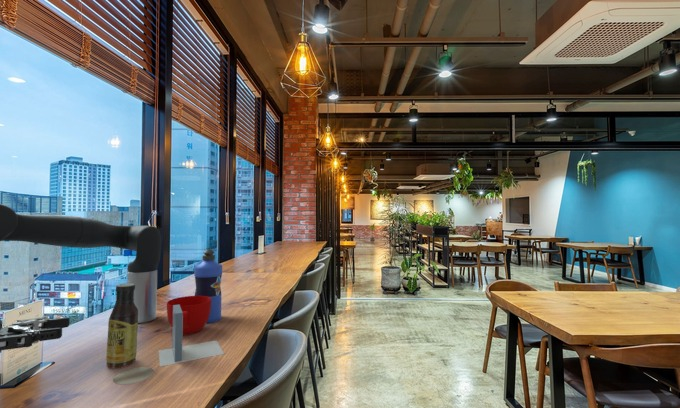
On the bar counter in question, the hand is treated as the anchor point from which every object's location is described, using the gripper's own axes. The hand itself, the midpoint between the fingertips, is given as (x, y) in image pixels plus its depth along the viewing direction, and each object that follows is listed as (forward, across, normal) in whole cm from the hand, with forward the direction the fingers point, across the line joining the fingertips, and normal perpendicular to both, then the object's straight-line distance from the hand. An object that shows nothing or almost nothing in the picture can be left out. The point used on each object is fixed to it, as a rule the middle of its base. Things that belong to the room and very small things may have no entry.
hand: (65, 327), depth 78 cm
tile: (+23, -1, +11) cm, 26 cm away
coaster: (+14, -9, +11) cm, 20 cm away
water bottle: (+36, +28, +11) cm, 47 cm away
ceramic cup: (+28, +15, +11) cm, 34 cm away
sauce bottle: (+11, 0, +11) cm, 16 cm away
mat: (+27, -1, +11) cm, 29 cm away
